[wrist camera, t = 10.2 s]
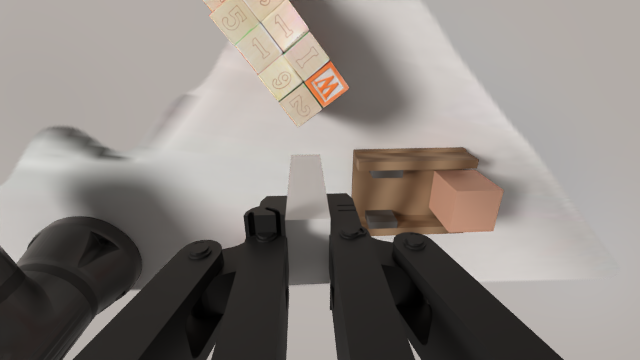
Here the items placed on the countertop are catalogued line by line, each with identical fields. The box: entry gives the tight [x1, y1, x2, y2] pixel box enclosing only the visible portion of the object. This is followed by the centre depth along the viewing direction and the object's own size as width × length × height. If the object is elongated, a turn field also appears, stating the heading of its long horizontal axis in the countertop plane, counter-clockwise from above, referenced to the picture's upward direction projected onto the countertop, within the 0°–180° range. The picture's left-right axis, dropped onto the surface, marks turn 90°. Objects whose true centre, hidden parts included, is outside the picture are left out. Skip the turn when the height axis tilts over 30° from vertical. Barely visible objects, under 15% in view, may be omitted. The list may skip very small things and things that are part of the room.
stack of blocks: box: [203, 0, 349, 127], centre depth 31 cm, size 21×6×12 cm, turn 37°
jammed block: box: [429, 170, 504, 233], centre depth 43 cm, size 6×6×7 cm
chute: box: [352, 147, 479, 236], centre depth 45 cm, size 16×12×4 cm
